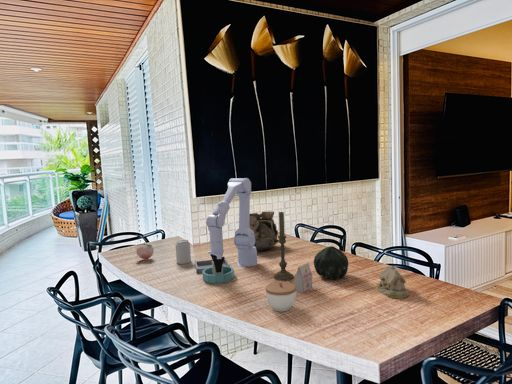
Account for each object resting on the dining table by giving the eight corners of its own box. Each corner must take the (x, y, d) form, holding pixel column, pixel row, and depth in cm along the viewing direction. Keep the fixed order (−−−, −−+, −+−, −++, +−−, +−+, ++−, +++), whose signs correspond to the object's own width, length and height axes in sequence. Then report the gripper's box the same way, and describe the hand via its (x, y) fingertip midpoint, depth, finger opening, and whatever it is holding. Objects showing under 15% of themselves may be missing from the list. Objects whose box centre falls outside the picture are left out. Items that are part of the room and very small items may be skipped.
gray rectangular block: (222, 272, 164) (221, 259, 163) (223, 275, 160) (222, 262, 160) (212, 273, 163) (211, 260, 162) (213, 276, 159) (212, 263, 159)
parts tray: (225, 262, 186) (225, 258, 185) (230, 270, 172) (229, 265, 172) (194, 266, 182) (194, 261, 182) (197, 274, 168) (196, 269, 168)
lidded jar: (264, 303, 132) (263, 278, 131) (293, 300, 133) (292, 276, 132) (268, 315, 121) (267, 288, 120) (299, 313, 122) (298, 286, 121)
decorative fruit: (157, 257, 202) (155, 240, 201) (151, 261, 194) (150, 243, 193) (141, 257, 203) (139, 240, 202) (134, 261, 195) (133, 243, 194)
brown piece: (256, 242, 229) (254, 209, 227) (288, 246, 215) (287, 210, 213) (231, 251, 208) (229, 215, 207) (264, 256, 195) (263, 217, 193)
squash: (329, 256, 169) (317, 237, 161) (358, 263, 159) (346, 243, 150) (316, 282, 163) (302, 263, 155) (345, 291, 152) (332, 271, 144)
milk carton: (295, 290, 143) (294, 266, 142) (304, 286, 148) (304, 262, 147) (302, 293, 140) (302, 268, 139) (312, 288, 145) (311, 263, 144)
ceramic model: (372, 286, 145) (371, 262, 144) (399, 284, 145) (399, 260, 144) (387, 299, 131) (386, 273, 130) (416, 297, 131) (416, 271, 130)
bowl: (231, 271, 170) (230, 264, 170) (236, 281, 157) (236, 273, 156) (201, 275, 167) (201, 267, 167) (204, 285, 153) (204, 277, 153)
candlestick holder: (295, 274, 162) (293, 209, 160) (291, 281, 154) (288, 212, 151) (276, 273, 165) (274, 209, 163) (270, 279, 157) (268, 212, 154)
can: (187, 265, 184) (186, 242, 183) (174, 265, 186) (172, 242, 184) (193, 261, 191) (191, 239, 190) (180, 260, 193) (178, 239, 192)
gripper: (205, 238, 166) (207, 267, 168) (209, 245, 152) (211, 276, 154) (220, 237, 168) (222, 265, 169) (225, 244, 154) (227, 274, 155)
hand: (218, 270), depth 161 cm, fingers closed on gray rectangular block, 4 cm apart
